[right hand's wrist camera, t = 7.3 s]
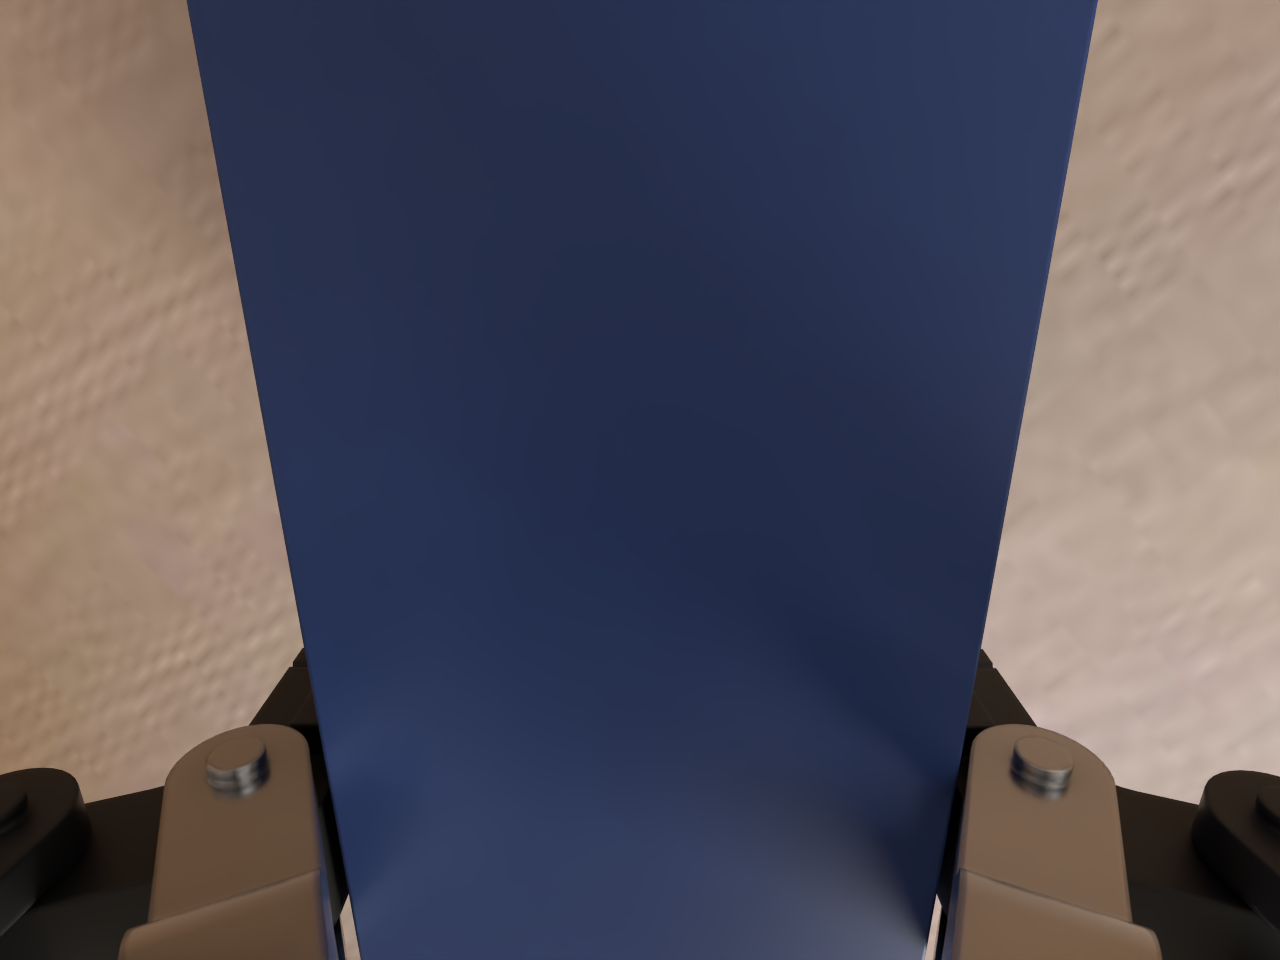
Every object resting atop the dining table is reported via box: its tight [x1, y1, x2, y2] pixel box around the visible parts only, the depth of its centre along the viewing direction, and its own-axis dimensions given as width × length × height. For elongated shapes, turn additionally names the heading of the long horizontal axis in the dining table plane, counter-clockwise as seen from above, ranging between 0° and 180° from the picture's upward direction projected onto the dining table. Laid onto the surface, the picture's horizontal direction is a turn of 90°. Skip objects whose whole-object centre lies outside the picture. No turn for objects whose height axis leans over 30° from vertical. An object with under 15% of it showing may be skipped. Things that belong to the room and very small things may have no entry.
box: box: [187, 0, 1098, 960], centre depth 10 cm, size 22×6×11 cm, turn 0°
